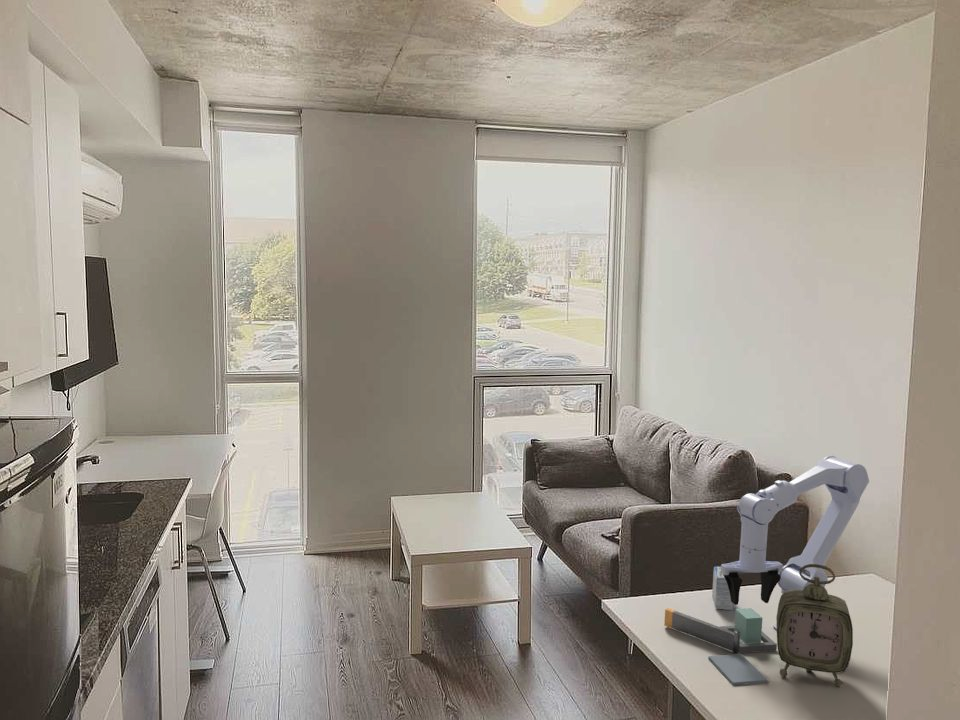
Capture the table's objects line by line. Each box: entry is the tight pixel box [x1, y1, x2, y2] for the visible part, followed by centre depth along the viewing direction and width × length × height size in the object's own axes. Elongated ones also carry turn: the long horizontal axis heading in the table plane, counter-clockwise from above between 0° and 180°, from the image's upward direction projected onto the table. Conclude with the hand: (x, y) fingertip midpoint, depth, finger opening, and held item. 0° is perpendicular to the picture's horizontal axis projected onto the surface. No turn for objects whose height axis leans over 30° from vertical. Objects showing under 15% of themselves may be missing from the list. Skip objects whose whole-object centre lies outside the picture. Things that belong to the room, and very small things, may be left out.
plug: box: [734, 607, 764, 644], centre depth 177 cm, size 5×6×7 cm
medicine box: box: [711, 566, 734, 611], centre depth 197 cm, size 8×4×9 cm, turn 168°
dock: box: [719, 625, 778, 654], centre depth 177 cm, size 9×10×2 cm
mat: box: [707, 653, 769, 686], centre depth 164 cm, size 8×11×1 cm
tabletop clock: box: [775, 564, 854, 688], centre depth 161 cm, size 14×9×25 cm, turn 70°
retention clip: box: [664, 607, 740, 654], centre depth 177 cm, size 1×19×5 cm, turn 46°
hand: (749, 602), depth 176 cm, fingers open, 7 cm apart
